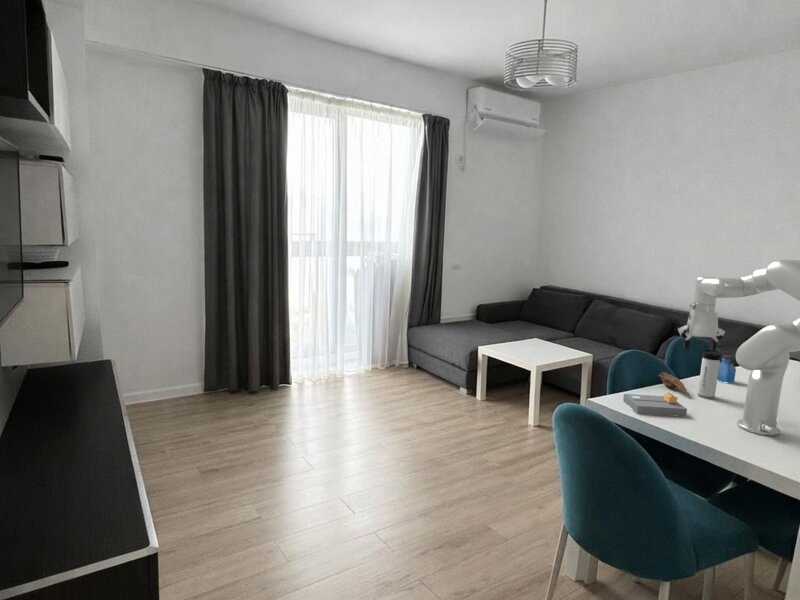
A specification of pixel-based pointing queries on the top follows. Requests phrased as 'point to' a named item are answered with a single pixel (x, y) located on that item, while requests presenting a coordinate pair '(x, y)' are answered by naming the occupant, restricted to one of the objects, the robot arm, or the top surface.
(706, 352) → the travel mug
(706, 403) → the top surface
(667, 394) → the fader knob
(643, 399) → the console
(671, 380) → the bird sculpture
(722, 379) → the perfume bottle
